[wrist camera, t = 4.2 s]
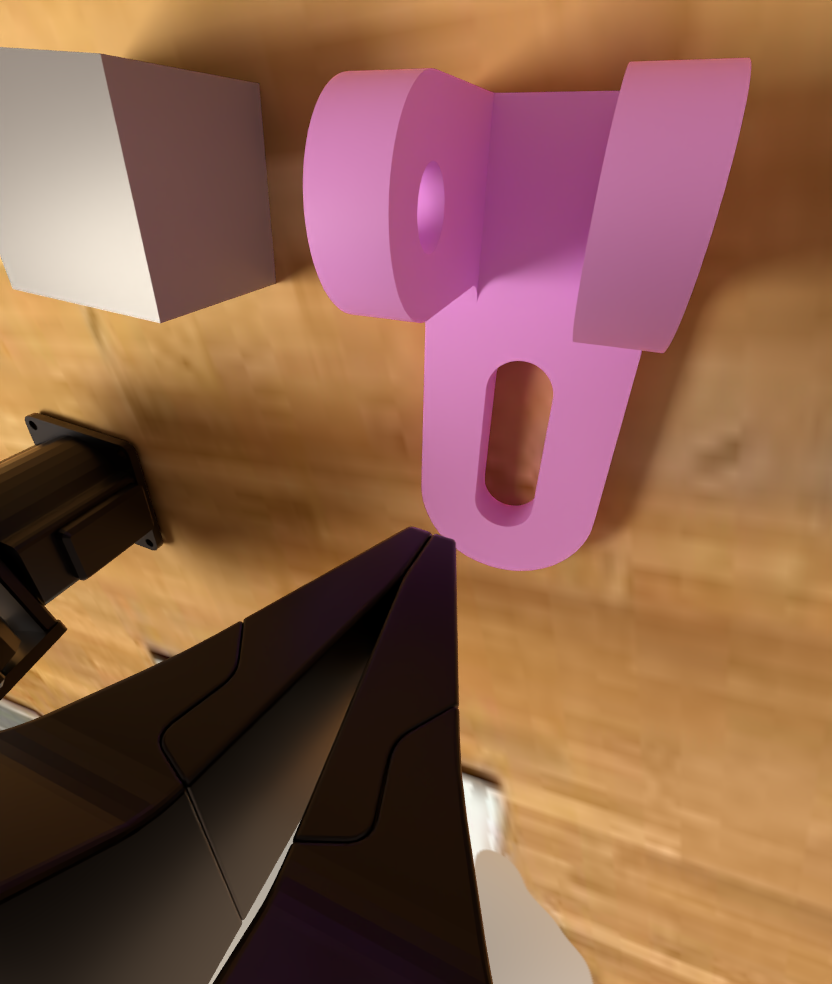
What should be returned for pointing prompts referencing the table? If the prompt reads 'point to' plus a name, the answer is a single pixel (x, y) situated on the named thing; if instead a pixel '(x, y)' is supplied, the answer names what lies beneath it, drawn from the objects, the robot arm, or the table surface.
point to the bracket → (521, 259)
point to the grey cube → (131, 183)
